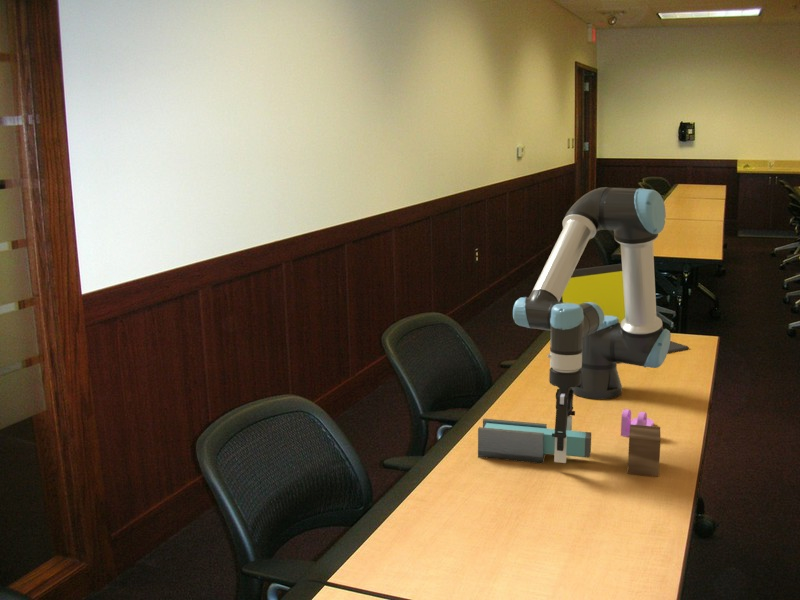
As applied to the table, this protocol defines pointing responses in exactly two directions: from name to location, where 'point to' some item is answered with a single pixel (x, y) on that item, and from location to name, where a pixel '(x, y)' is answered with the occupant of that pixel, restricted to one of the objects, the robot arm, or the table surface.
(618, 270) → the laptop
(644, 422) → the bracket
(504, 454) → the sleeve
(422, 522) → the table surface
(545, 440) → the bar
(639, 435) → the socket block
